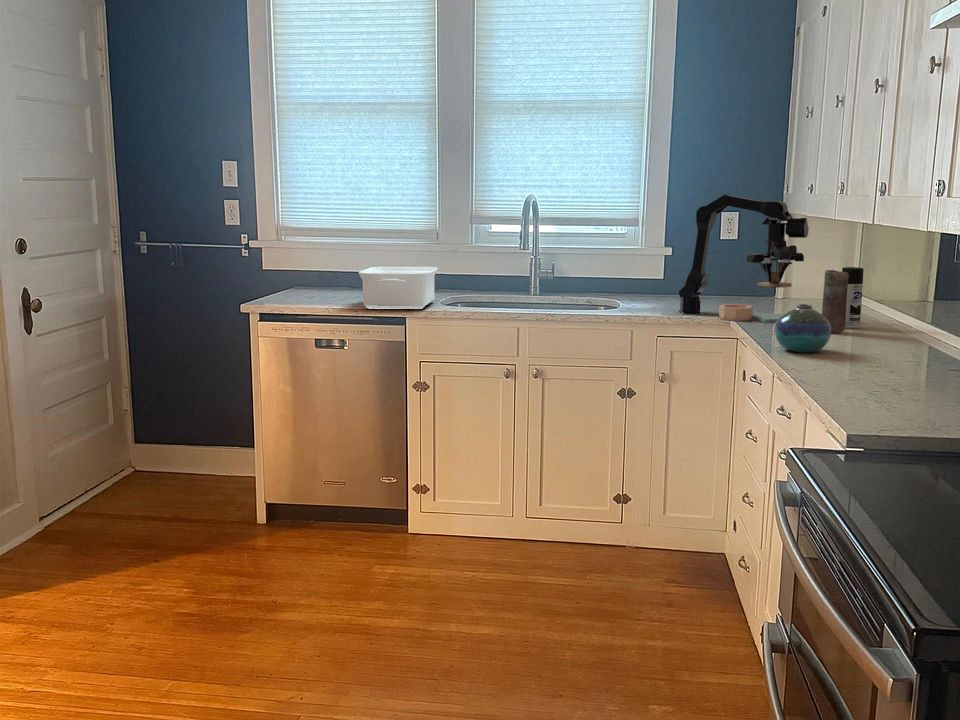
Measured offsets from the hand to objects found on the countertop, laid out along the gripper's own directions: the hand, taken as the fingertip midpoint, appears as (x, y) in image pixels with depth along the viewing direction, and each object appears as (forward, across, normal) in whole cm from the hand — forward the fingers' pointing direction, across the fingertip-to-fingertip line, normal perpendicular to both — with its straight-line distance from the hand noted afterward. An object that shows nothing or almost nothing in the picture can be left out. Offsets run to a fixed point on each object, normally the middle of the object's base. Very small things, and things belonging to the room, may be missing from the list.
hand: (774, 282), depth 313 cm
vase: (+14, -18, -59) cm, 63 cm away
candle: (+14, +7, -30) cm, 33 cm away
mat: (+13, +1, 0) cm, 13 cm away
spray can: (+14, +17, -22) cm, 31 cm away
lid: (+1, 0, 0) cm, 1 cm away
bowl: (+13, -12, +3) cm, 18 cm away
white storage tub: (+11, -131, +56) cm, 143 cm away
